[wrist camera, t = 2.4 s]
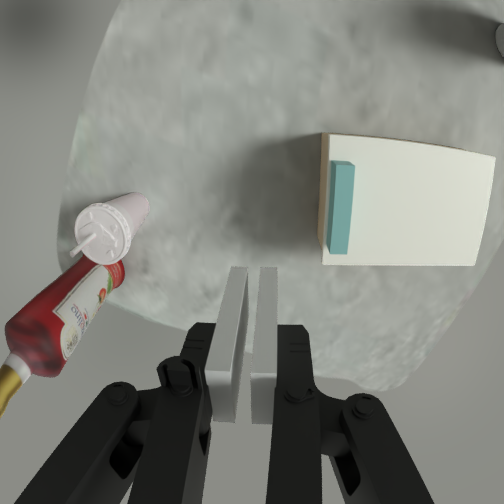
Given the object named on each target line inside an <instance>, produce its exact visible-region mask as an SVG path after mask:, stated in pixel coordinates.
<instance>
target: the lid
mask: <svg viewBox="0 0 504 504" xmlns="http://www.w3.org/2000/svg"><path fill="white" fill-rule="evenodd" d="M495 158H496V157H494V156H490V155H486V154H481V153H476V152H471V151H466V150H460V149H455V148H449V147H443V146H437V145H431V144H424V143H417V142H410V141H402V140H393V139H384V138H375V137H364V136H352V135H338V134H328V164H327V186H326V203H325V219H324V233H323V245H322V257H321V262H322V265H393V266H475V262H476V258H477V255H478V251H479V247H480V243H481V239H482V234H483V230H484V225H485V221H486V216H487V211H488V206H489V200H490V194H491V188H492V181H493V174H494V167H495Z"/></svg>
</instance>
